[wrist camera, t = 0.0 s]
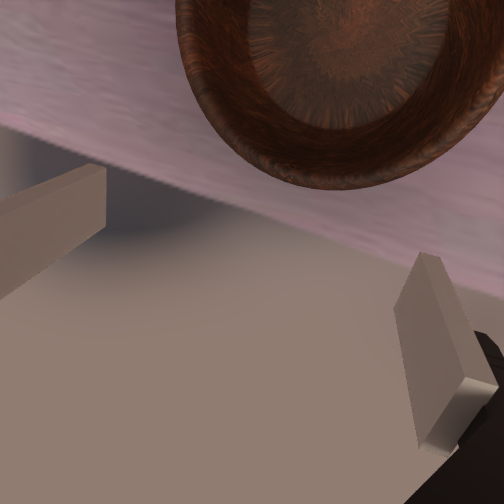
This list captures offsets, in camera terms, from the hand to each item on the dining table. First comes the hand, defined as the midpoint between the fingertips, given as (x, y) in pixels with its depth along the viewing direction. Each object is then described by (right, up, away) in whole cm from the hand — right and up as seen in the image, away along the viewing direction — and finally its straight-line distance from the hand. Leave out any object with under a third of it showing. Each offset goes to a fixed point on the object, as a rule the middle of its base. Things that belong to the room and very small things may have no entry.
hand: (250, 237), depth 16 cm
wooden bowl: (+9, +20, +20) cm, 30 cm away
